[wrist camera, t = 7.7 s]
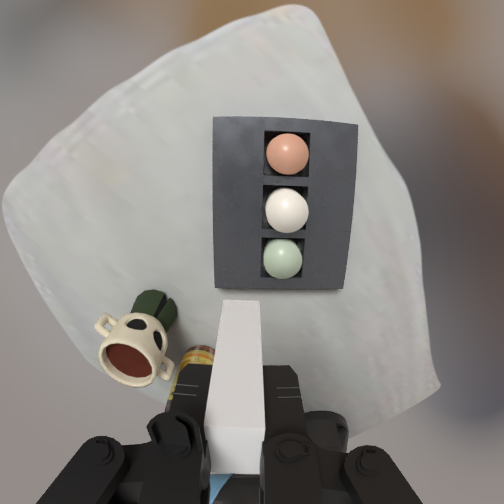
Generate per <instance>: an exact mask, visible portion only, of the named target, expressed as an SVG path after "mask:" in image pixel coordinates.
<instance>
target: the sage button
mask: <svg viewBox="0 0 504 504" xmlns="http://www.w3.org/2000/svg"><path fill="white" fill-rule="evenodd" d="M263 259H264V266H265V269H266V271H267V272H268V273H269V274H270V275H271V276H273V277H275V278H278V279H286V278H290V277H292V276H294V275H295V274H296V273H297V272H298V271H299V270H300V268H301V265H302V255H301V253H300V251H299V248H298V246H297V244H296V242H295V241H294V239H293V238H269V239H268V240H267V241H266V242H265V244H264V246H263Z"/></svg>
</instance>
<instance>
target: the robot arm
mask: <svg viewBox="0 0 504 504" xmlns="http://www.w3.org/2000/svg"><path fill="white" fill-rule="evenodd" d="M147 429H148V432H149V435H150V437H151V440H152V441H150V442H148V443H143V444H135V445H121V444H120V443H119V442H118V441H116V440H115V439H113V438H110V437H107V436H96V437H94V438H91V439H89V440H87V441H86V442H85V443H84V444H83V445H82V446H81V447H80V449H79V450H78V451H77V452H76V454H75V455H74V456H73V458H72V459H71V460H70V461H69V462H68V464H67V465H66V466H65V468H64V469H63V470H62V471H61V473H60V474H59V475H58V477H57V478H56V479H55V480H54V482H53V483H52V484H51V485H50V487H49V488H48V489H47V490H46V492H45V493H44V494H43V495H42V497H41V498H40V499H39V501H38V502H37V503H36V504H423V503H422V502H421V501H420V499H419V498H418V496H417V495H416V493H415V492H414V491H413V490H412V488H411V486H410V485H409V483H408V482H407V481H406V479H405V477H404V476H403V475H402V473H401V472H400V470H399V469H398V467H397V466H396V464H395V463H394V462H393V461H392V459H391V457H390V456H389V455H388V454H387V453H386V452H385V451H384V450H383V449H381V448H379V447H376V446H370V445H369V446H368V445H366V446H361V447H357V448H355V449H354V450H352V451H350V452H349V453H346V450H347V442H348V434H349V431H348V426H347V423H346V420H345V419H344V418H343V417H342V416H341V415H339V414H337V413H333V412H328V411H315V412H308V413H304V411H303V405H302V399H301V394H300V389H299V382H298V377H297V374H296V373H295V372H294V370H293V369H292V368H291V367H290V365H284V366H262V346H261V325H260V304H259V301H248V300H224V301H223V307H222V313H221V319H220V325H219V331H218V337H217V343H216V349H215V355H214V362H213V365H208V364H193V363H188V364H187V365H186V366H185V367H184V368H183V369H182V370H181V371H180V373H179V376H178V380H177V385H176V387H175V390H174V395H173V398H172V401H171V405H170V409H169V411H167V412H164V413H161V414H158V415H156V416H155V417H154V418H153V419H151V420H150V422H149V424H148V425H147ZM210 471H211V472H220V473H231V474H211V475H210ZM235 473H238V474H235ZM251 474H252V475H251Z"/></svg>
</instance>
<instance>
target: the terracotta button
mask: <svg viewBox="0 0 504 504" xmlns="http://www.w3.org/2000/svg"><path fill="white" fill-rule="evenodd" d="M308 157H309V152H308V148H307V145H306V144H305V142H304V141H303V140H302V139H301V138H300V137H298V136H296V135H294V134H281V135H279V136H277V137H275V138H273V139H272V140H271V141H270V142H269V143H268V145H267V147H266V159H267V161H268V163H269V165H270V166H271V167H272V168H273V169H275V170H276V171H277V172H279V173H282V174H287V175H288V174H295V173H297V172H299V171H301V170H302V169H303V168H304V167H305V165H306V164H307V161H308Z"/></svg>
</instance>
